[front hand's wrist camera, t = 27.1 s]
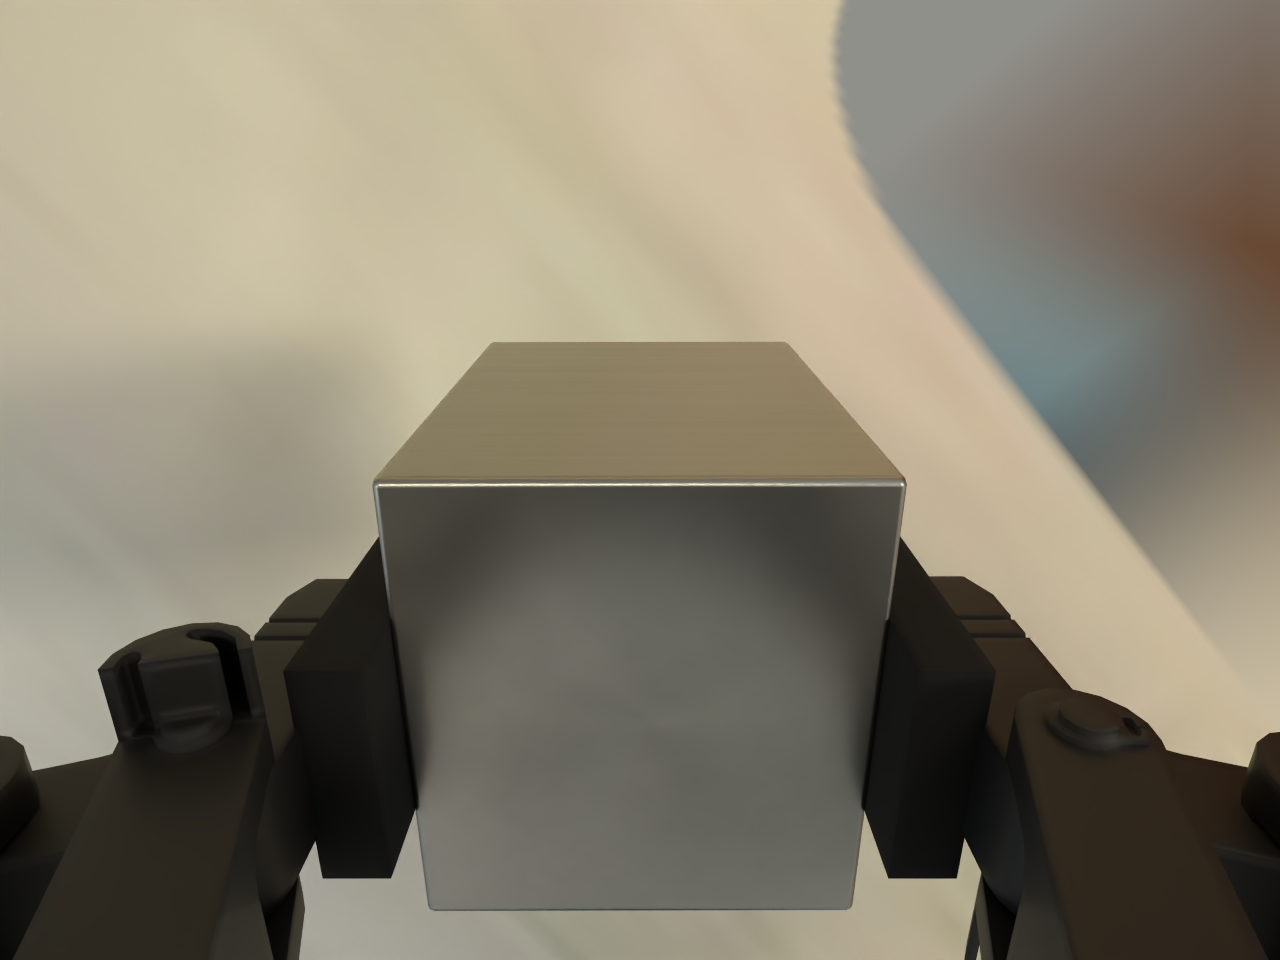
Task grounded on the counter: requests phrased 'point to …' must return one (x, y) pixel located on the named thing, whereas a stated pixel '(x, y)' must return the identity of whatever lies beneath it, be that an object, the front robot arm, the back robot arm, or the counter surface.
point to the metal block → (639, 628)
